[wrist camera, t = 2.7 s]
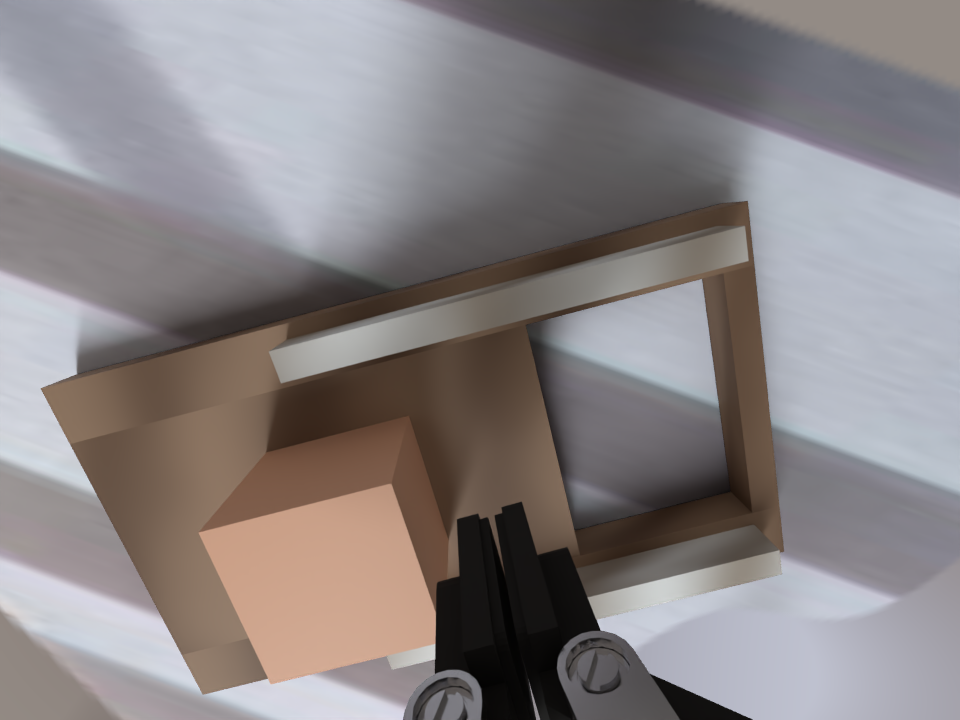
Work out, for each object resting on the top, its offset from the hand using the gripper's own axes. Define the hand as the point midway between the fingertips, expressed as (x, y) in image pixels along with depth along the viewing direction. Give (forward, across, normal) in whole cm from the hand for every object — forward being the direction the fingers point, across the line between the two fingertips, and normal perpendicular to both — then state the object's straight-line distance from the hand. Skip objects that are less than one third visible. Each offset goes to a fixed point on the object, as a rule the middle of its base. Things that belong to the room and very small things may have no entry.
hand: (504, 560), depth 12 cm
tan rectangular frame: (+7, +2, 0) cm, 7 cm away
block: (+5, +5, 0) cm, 7 cm away
